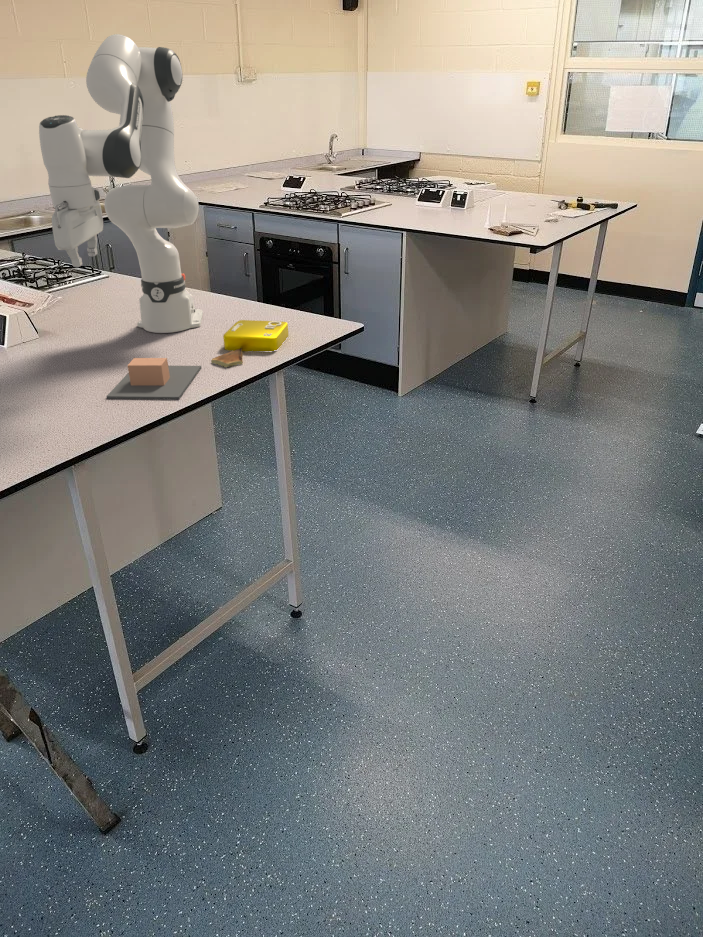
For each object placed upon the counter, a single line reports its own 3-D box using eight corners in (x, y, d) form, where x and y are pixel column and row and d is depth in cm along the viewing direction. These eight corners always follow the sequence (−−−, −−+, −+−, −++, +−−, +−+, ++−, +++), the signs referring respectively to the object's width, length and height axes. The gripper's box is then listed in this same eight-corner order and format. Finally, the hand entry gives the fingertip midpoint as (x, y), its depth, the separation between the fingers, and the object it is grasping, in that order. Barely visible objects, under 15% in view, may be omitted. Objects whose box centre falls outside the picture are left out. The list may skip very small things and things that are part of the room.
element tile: (239, 334, 207) (238, 317, 205) (290, 336, 204) (289, 319, 202) (222, 351, 194) (220, 334, 192) (276, 354, 192) (275, 336, 189)
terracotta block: (134, 358, 173) (166, 358, 173) (137, 377, 176) (169, 377, 175) (127, 365, 169) (161, 365, 168) (131, 385, 171) (164, 385, 171)
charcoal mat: (135, 367, 183) (135, 365, 183) (201, 368, 182) (201, 365, 182) (106, 398, 166) (106, 396, 166) (179, 399, 165) (179, 397, 164)
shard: (242, 353, 193) (241, 346, 192) (261, 359, 189) (261, 352, 188) (210, 364, 186) (209, 357, 185) (230, 370, 181) (229, 364, 181)
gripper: (68, 206, 151) (82, 272, 158) (102, 189, 169) (113, 250, 175) (38, 206, 151) (53, 273, 158) (76, 190, 169) (88, 250, 176)
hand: (85, 260), depth 167 cm, fingers open, 8 cm apart
